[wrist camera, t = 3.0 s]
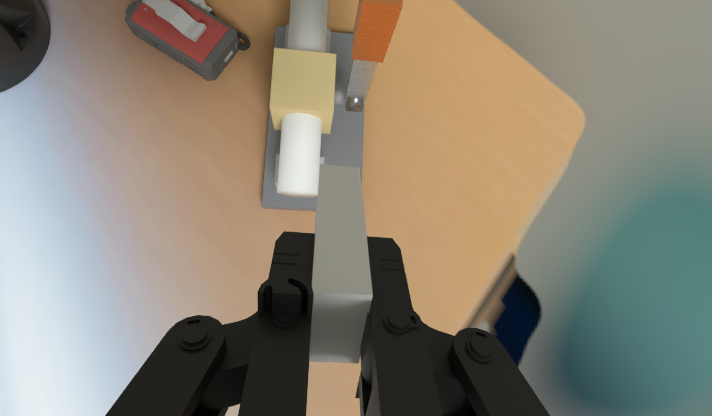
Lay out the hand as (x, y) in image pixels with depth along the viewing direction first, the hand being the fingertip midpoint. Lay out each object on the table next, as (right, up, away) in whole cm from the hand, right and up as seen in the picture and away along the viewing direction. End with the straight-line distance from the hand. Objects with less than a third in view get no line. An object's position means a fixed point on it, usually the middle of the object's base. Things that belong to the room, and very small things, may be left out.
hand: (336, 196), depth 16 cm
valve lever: (0, +11, +28) cm, 30 cm away
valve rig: (-4, +10, +33) cm, 34 cm away
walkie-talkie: (-22, +22, +33) cm, 46 cm away
